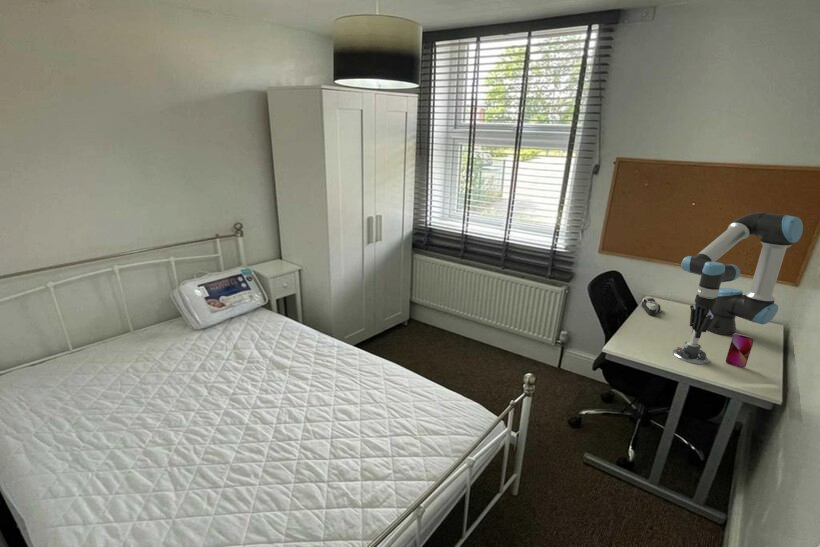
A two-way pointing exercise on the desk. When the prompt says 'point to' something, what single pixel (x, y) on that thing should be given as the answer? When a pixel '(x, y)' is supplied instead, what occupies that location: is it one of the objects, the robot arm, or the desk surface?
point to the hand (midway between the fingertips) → (693, 343)
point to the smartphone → (739, 350)
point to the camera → (650, 306)
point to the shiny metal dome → (685, 356)
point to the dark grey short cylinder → (692, 349)
